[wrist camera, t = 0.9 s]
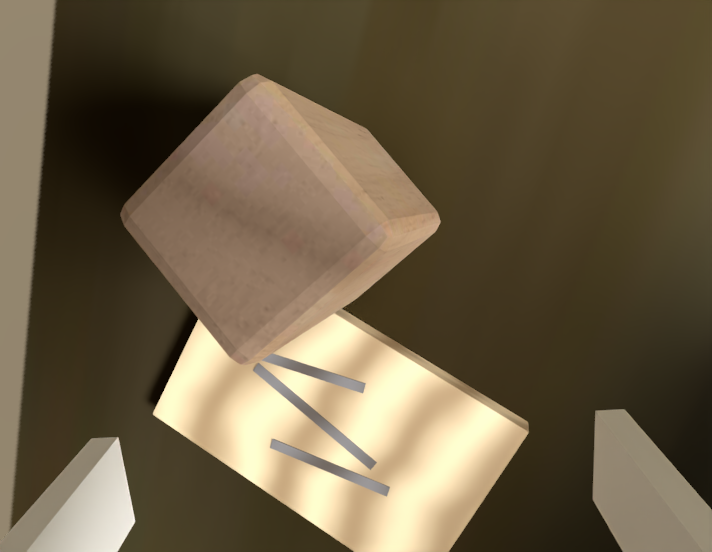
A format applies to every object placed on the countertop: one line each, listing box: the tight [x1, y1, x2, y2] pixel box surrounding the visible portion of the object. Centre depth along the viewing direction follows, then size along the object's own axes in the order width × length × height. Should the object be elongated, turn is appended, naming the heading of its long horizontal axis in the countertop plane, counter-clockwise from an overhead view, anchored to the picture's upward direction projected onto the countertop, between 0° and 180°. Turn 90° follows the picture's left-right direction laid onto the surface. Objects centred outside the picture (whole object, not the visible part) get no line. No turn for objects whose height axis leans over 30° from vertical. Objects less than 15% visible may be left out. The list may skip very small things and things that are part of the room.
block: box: [120, 74, 441, 365], centre depth 35 cm, size 10×10×20 cm
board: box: [153, 309, 529, 552], centre depth 47 cm, size 26×16×2 cm, turn 61°
